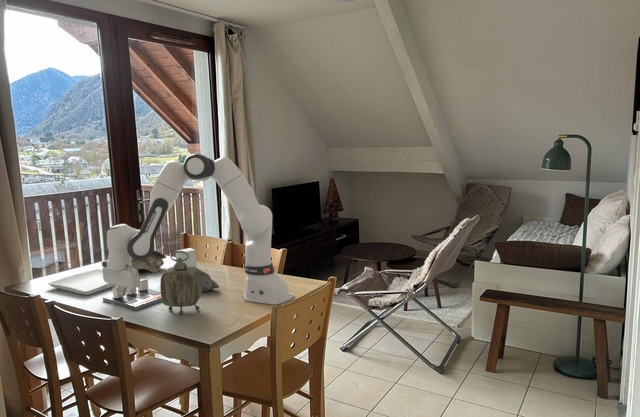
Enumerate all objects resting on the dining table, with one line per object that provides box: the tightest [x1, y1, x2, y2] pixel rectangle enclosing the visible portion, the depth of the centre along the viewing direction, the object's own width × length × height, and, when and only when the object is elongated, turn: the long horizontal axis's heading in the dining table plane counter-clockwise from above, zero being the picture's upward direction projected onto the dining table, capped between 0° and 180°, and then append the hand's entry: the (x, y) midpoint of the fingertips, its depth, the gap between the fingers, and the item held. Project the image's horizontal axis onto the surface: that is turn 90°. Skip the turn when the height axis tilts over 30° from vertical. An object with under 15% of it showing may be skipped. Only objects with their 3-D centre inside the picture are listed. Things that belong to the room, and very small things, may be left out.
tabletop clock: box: [159, 250, 203, 316], centre depth 189 cm, size 14×9×25 cm, turn 92°
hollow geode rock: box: [131, 249, 168, 274], centre depth 253 cm, size 28×13×15 cm
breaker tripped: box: [111, 286, 123, 298], centre depth 204 cm, size 3×3×4 cm
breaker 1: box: [126, 288, 136, 295], centre depth 209 cm, size 3×3×4 cm
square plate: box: [47, 268, 117, 296], centre depth 228 cm, size 27×27×4 cm
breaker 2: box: [138, 278, 149, 291], centre depth 214 cm, size 3×3×4 cm
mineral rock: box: [199, 269, 220, 292], centre depth 217 cm, size 13×11×10 cm
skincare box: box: [174, 247, 197, 268], centre depth 236 cm, size 8×6×15 cm
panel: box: [102, 288, 163, 312], centre depth 207 cm, size 22×18×2 cm
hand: (122, 295), depth 202 cm, fingers closed
